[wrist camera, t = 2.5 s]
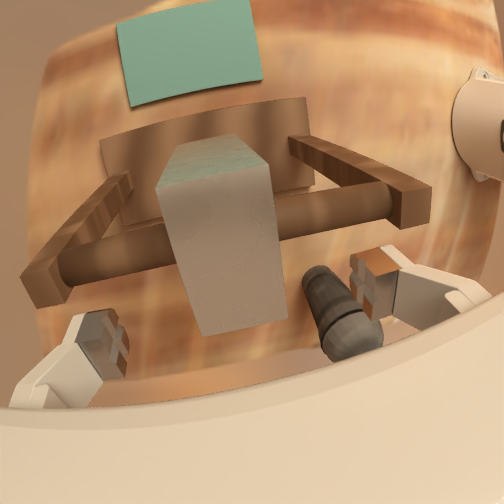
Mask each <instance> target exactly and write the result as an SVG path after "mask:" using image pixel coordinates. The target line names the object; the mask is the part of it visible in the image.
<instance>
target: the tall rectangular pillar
mask: <svg viewBox="0 0 504 504" xmlns="http://www.w3.org/2000/svg"><path fill="white" fill-rule="evenodd" d="M155 190H156V194H157V198H158V201H159V205H160V208H161V212H162V216H163V219H164V223H165V226H166V229H167V233H168V236H169V239H170V243H171V246H172V249H173V253H174V256H175V259H176V262H177V265H178V268H179V272H180V275H181V278H182V281H183V284H184V287H185V290H186V293H187V296H188V299H189V302H190V305H191V307H192V310H193V313H194V316H195V319H196V322H197V324H198V327H199V330H200V333H201V335H202V337H207V336H212V335H216V334H221V333H226V332H231V331H236V330H240V329H245V328H249V327H254V326H258V325H262V324H267V323H271V322H275V321H279V320H283V319H287V318H288V311H287V302H286V294H285V285H284V277H283V268H282V260H281V252H280V244H279V237H278V229H277V221H276V214H275V206H274V199H273V192H272V185H271V178H270V171H269V164H268V163H266V162H265V161H264V160H263V159H262V158H261V157H260V156H259V155H258V154H257V153H256V152H255V151H253V150H252V149H251V148H250V147H249V146H248V145H247V144H246V143H245V142H243V141H242V140H241V139H240V138H239V137H238V136H237V135H236V134H234V133H232V134H227V135H222V136H217V137H212V138H207V139H202V140H198V141H193V142H189V143H184V144H180V145H177V146H176V148H175V149H174V151H173V153H172V155H171V157H170V159H169V161H168V163H167V165H166V167H165V169H164V171H163V173H162V176H161V178H160V180H159V182H158V184H157V186H156V188H155Z"/></svg>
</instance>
